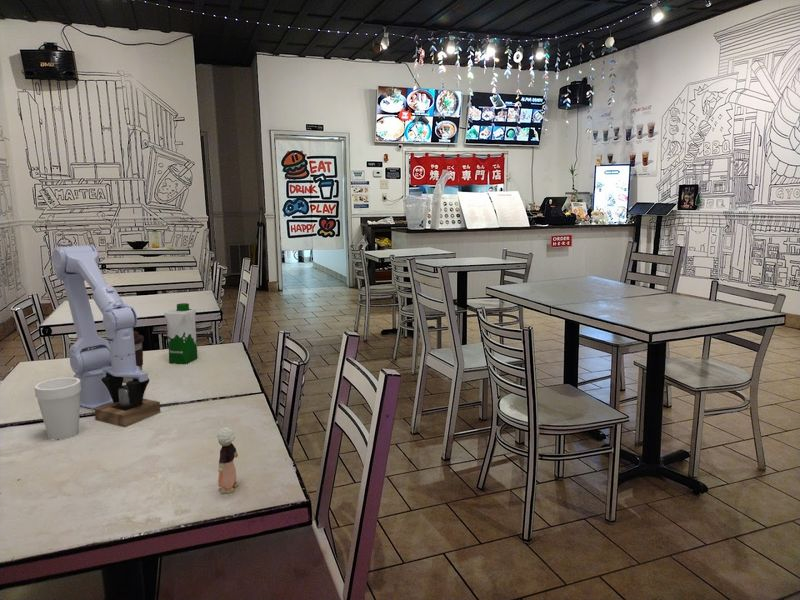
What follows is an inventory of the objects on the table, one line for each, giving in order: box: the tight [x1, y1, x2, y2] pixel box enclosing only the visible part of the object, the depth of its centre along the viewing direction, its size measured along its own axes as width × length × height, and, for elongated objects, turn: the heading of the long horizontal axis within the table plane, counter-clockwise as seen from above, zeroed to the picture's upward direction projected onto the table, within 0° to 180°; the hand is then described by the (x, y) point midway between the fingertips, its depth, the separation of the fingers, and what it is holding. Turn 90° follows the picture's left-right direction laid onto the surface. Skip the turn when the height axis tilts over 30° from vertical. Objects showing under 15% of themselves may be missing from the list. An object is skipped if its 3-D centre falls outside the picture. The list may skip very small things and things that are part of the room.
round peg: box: [118, 384, 135, 411], centre depth 149 cm, size 4×4×8 cm
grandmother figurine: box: [216, 427, 239, 494], centre depth 111 cm, size 8×4×13 cm, turn 5°
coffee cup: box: [108, 330, 145, 383], centre depth 179 cm, size 10×10×15 cm
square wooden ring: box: [94, 397, 162, 428], centre depth 150 cm, size 11×11×3 cm
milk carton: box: [163, 302, 199, 365], centre depth 198 cm, size 9×9×20 cm
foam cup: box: [34, 376, 81, 441], centre depth 137 cm, size 10×9×13 cm
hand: (127, 403), depth 149 cm, fingers open, 7 cm apart
